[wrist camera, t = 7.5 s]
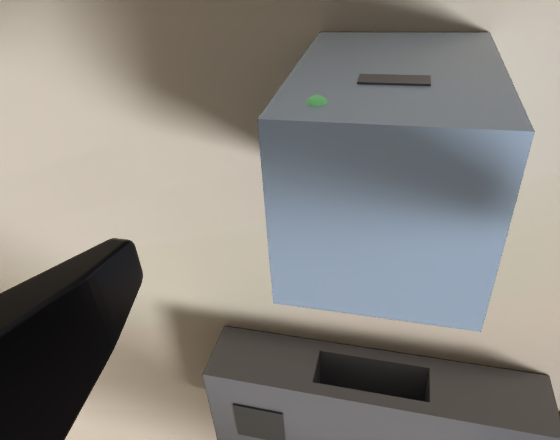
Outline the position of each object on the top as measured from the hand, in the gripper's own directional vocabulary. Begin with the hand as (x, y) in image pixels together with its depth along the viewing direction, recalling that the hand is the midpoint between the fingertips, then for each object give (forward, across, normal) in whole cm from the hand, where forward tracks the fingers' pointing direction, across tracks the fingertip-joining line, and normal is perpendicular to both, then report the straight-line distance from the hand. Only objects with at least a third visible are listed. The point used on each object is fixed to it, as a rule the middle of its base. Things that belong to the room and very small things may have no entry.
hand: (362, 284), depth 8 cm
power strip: (+9, -3, +15) cm, 18 cm away
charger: (+9, 0, +2) cm, 9 cm away
